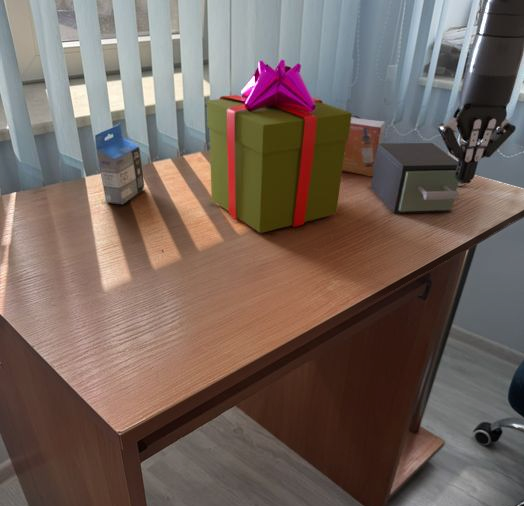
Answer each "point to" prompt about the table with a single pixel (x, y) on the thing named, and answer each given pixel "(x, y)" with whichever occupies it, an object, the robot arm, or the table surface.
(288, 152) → the gift box
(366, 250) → the table surface
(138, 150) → the label tape box
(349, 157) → the small box
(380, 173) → the cabinet
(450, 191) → the drawer
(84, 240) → the table surface
